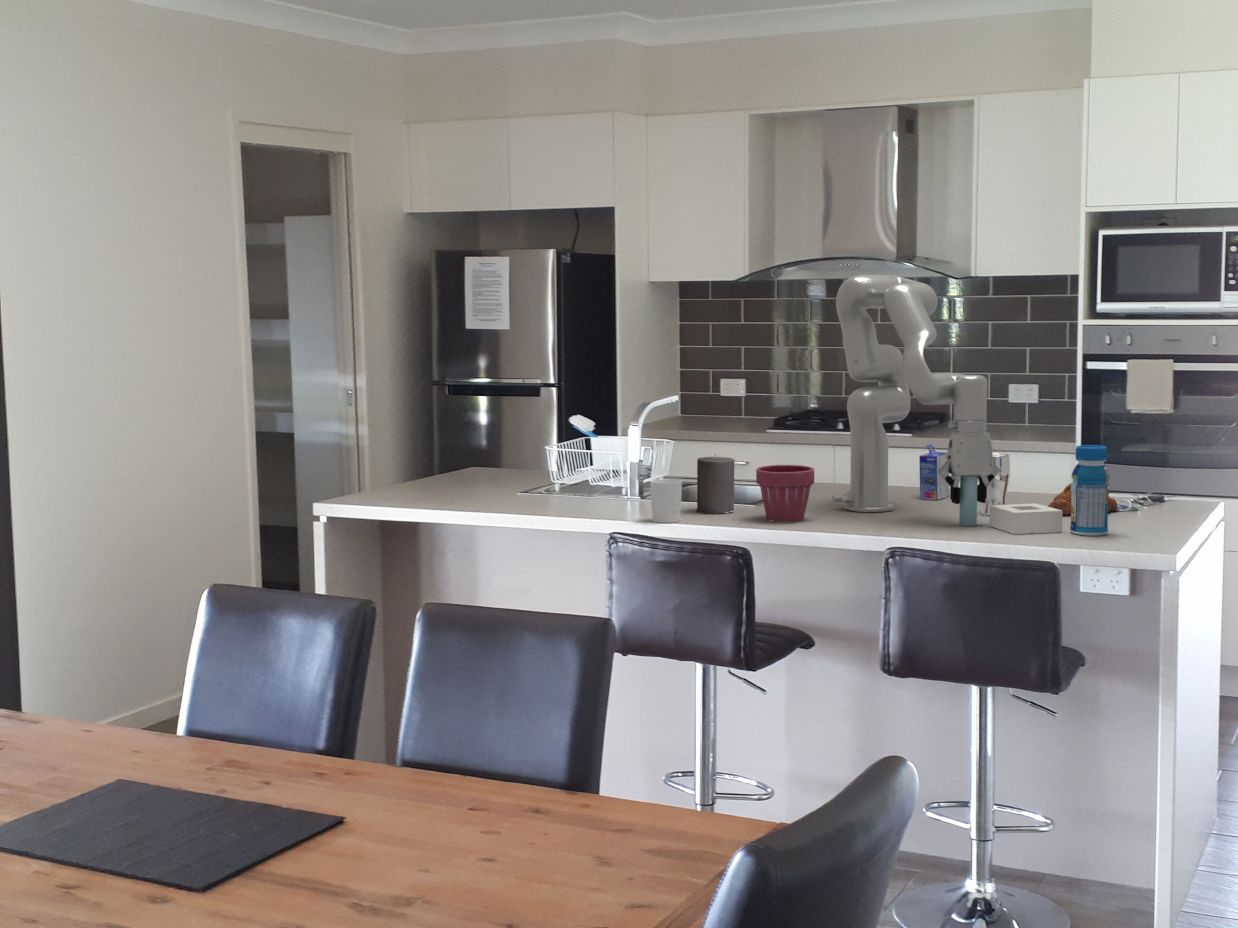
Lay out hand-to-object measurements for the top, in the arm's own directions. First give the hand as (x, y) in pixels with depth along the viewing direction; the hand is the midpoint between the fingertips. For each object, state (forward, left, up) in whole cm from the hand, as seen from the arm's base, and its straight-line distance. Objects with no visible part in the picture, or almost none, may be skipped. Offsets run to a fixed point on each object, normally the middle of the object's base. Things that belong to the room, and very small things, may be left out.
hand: (968, 501), depth 318 cm
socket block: (+10, -9, -6) cm, 15 cm away
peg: (0, 0, -6) cm, 6 cm away
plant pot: (-39, +20, -6) cm, 44 cm away
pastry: (+36, +10, -6) cm, 38 cm away
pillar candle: (-52, +37, -6) cm, 64 cm away
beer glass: (+14, +14, -6) cm, 21 cm away
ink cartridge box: (+12, +45, -6) cm, 47 cm away
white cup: (-68, +25, -6) cm, 73 cm away
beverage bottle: (+21, -18, -6) cm, 28 cm away
